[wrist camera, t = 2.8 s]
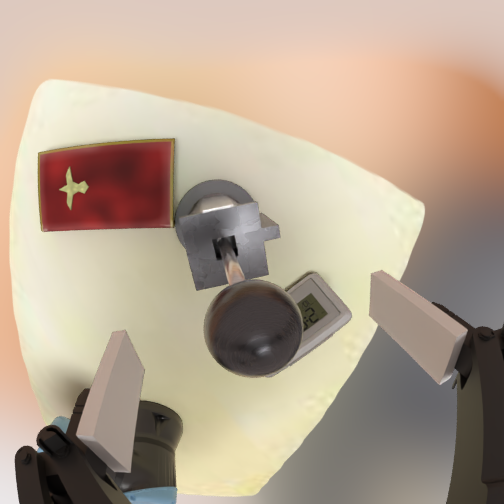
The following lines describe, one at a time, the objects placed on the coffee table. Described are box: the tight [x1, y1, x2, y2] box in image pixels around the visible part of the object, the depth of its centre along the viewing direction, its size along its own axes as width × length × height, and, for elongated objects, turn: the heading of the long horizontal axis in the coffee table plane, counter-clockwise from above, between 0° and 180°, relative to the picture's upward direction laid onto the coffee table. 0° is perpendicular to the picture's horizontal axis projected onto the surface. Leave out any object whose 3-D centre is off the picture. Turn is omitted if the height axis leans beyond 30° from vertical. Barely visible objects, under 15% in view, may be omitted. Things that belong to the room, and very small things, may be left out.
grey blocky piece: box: [179, 193, 280, 291], centre depth 33 cm, size 10×8×13 cm
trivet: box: [175, 180, 254, 249], centre depth 39 cm, size 12×12×1 cm
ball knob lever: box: [204, 235, 303, 378], centre depth 20 cm, size 5×5×19 cm
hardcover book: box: [38, 139, 175, 232], centre depth 33 cm, size 12×21×4 cm, turn 87°
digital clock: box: [265, 273, 352, 377], centre depth 41 cm, size 16×9×11 cm, turn 114°
